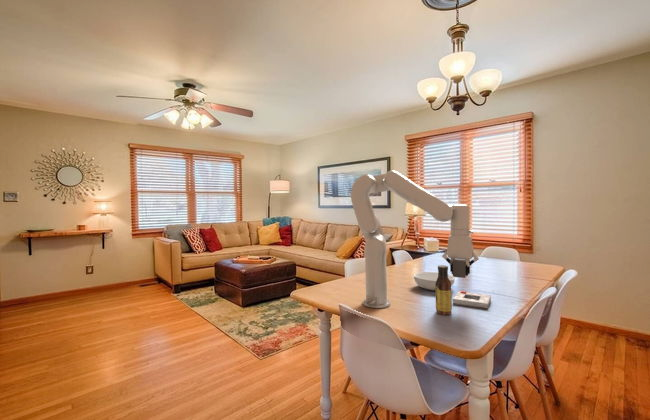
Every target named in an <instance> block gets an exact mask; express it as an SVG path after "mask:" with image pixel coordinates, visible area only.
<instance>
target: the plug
mask: <svg viewBox="0 0 650 420" xmlns="http://www.w3.org/2000/svg"><path fill="white" fill-rule="evenodd" d="M466 265H467V264H466V261H465V259H454V260H453V274H452V276H453V277H454V278H462V279H466V278H467V277H468V276H466Z"/></svg>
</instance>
